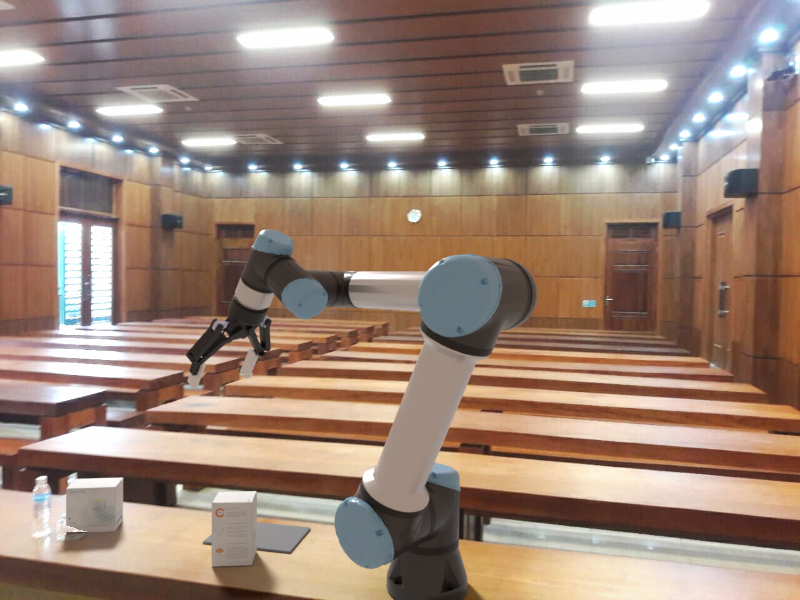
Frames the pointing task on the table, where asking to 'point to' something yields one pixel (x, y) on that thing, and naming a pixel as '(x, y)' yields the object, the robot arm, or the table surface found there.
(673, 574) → the table surface
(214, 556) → the small box
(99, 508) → the skincare box
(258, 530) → the mat
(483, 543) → the table surface
